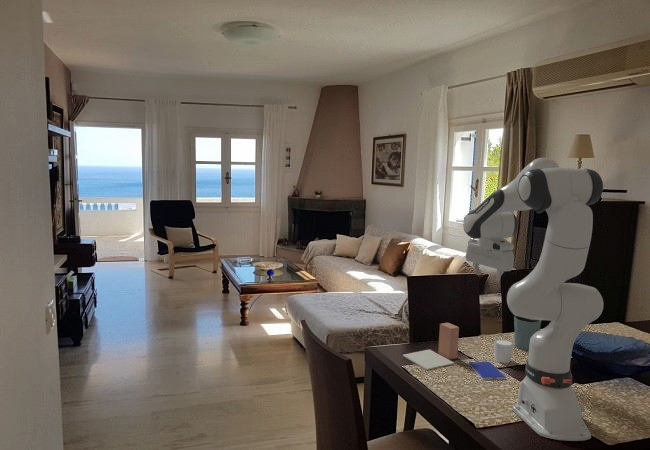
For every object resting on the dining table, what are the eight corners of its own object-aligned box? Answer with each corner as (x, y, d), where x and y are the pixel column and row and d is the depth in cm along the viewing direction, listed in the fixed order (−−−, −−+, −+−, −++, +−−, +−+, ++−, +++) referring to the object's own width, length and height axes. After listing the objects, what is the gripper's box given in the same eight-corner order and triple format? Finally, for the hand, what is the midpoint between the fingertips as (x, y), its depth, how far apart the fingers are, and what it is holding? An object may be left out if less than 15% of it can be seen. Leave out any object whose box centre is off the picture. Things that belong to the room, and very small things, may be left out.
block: (457, 358, 179) (459, 327, 178) (449, 359, 177) (450, 328, 176) (446, 352, 184) (448, 322, 183) (438, 354, 183) (439, 323, 181)
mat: (454, 364, 173) (454, 362, 173) (426, 370, 167) (426, 368, 167) (429, 350, 186) (429, 349, 186) (402, 355, 180) (402, 354, 180)
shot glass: (515, 364, 175) (516, 346, 174) (496, 363, 175) (497, 345, 174) (508, 357, 181) (509, 339, 181) (490, 356, 182) (491, 338, 181)
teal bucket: (532, 353, 185) (534, 324, 184) (507, 346, 193) (509, 317, 191) (543, 347, 192) (545, 319, 191) (518, 340, 200) (521, 312, 198)
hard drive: (468, 361, 173) (482, 376, 161) (490, 361, 174) (506, 376, 162) (468, 366, 173) (482, 381, 161) (489, 365, 174) (505, 380, 162)
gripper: (463, 238, 187) (461, 272, 189) (506, 247, 170) (503, 285, 172) (474, 236, 190) (472, 270, 192) (517, 246, 173) (514, 282, 175)
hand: (487, 277), depth 182 cm, fingers open, 8 cm apart
